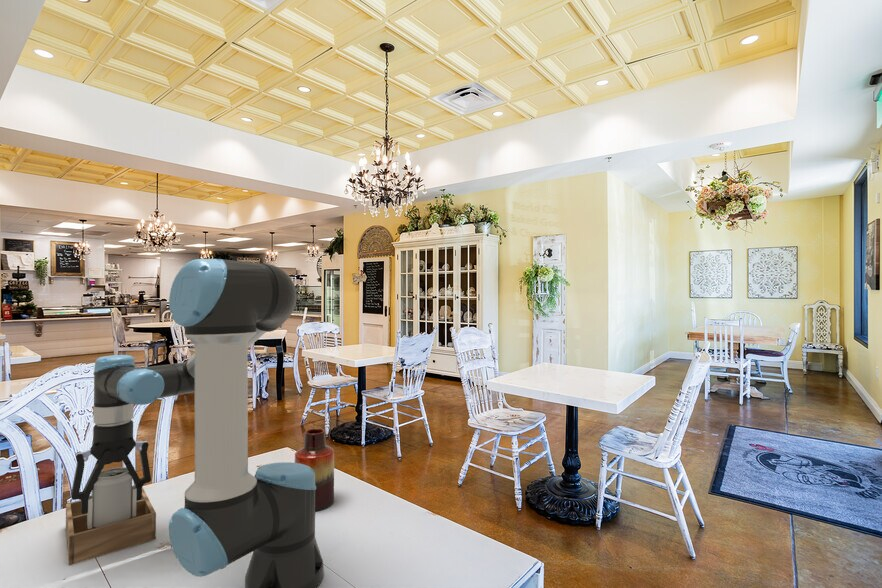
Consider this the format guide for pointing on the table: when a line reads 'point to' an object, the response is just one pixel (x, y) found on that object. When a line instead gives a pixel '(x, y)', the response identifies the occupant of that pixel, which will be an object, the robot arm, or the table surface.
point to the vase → (319, 466)
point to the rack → (107, 532)
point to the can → (112, 497)
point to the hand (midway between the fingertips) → (112, 520)
